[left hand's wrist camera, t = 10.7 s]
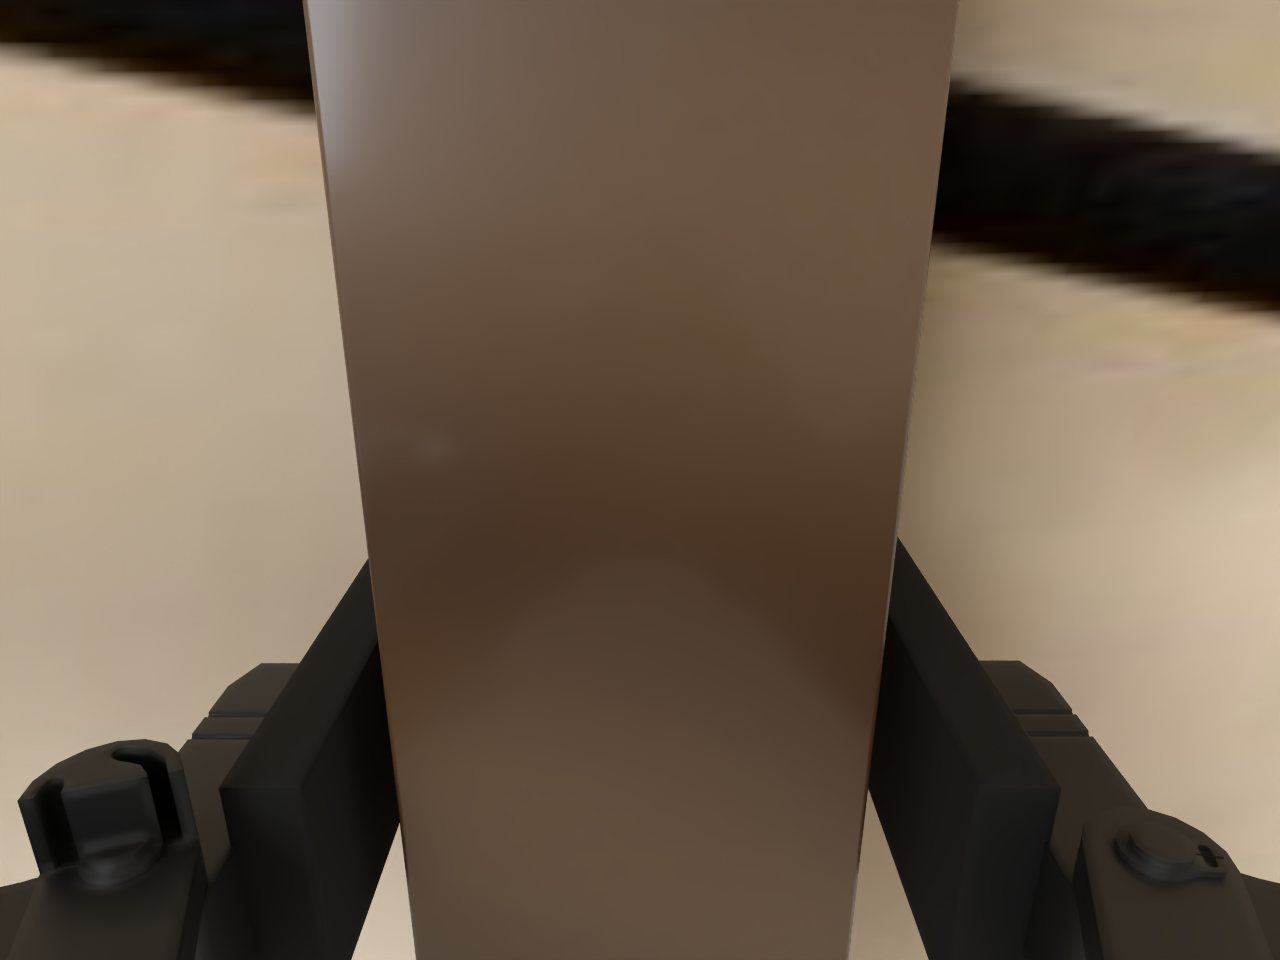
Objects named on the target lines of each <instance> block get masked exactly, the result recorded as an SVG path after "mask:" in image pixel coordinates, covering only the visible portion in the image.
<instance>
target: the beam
mask: <svg viewBox="0 0 1280 960" xmlns="http://www.w3.org/2000/svg"><path fill="white" fill-rule="evenodd" d="M958 5H959V0H303V9H304V17H305V26H306V34H307V42H308V51H309V59H310V68H311V76H312V85H313V93H314V102H315V110H316V118H317V127H318V135H319V144H320V152H321V161H322V169H323V178H324V186H325V194H326V203H327V211H328V220H329V228H330V237H331V245H332V254H333V262H334V270H335V279H336V287H337V296H338V304H339V313H340V321H341V330H342V338H343V346H344V355H345V363H346V372H347V380H348V389H349V397H350V406H351V414H352V422H353V431H354V439H355V448H356V456H357V465H358V473H359V482H360V490H361V498H362V507H363V515H364V524H365V532H366V541H367V549H368V558H369V566H370V574H371V583H372V591H373V600H374V608H375V617H376V625H377V634H378V642H379V650H380V659H381V667H382V676H383V684H384V693H385V701H386V710H387V718H388V726H389V735H390V743H391V752H392V760H393V769H394V777H395V786H396V794H397V802H398V811H399V819H400V828H401V836H402V845H403V853H404V862H405V870H406V878H407V887H408V895H409V904H410V912H411V921H412V929H413V938H414V946H415V954H416V960H848V958H849V949H850V940H851V932H852V923H853V914H854V906H855V897H856V888H857V880H858V871H859V862H860V854H861V845H862V836H863V828H864V819H865V810H866V802H867V793H868V785H869V776H870V767H871V759H872V750H873V741H874V733H875V724H876V715H877V707H878V698H879V689H880V681H881V672H882V663H883V655H884V646H885V637H886V629H887V620H888V611H889V603H890V594H891V585H892V577H893V568H894V559H895V551H896V542H897V533H898V525H899V516H900V507H901V499H902V490H903V481H904V473H905V464H906V456H907V447H908V438H909V430H910V421H911V412H912V404H913V395H914V386H915V378H916V369H917V360H918V352H919V343H920V334H921V326H922V317H923V308H924V300H925V291H926V282H927V274H928V265H929V256H930V248H931V239H932V230H933V222H934V213H935V204H936V196H937V187H938V178H939V170H940V161H941V152H942V144H943V135H944V127H945V118H946V109H947V101H948V92H949V83H950V75H951V66H952V57H953V49H954V40H955V31H956V23H957V14H958Z"/></svg>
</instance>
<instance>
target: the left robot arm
mask: <svg viewBox="0 0 1280 960" xmlns="http://www.w3.org/2000/svg"><path fill="white" fill-rule="evenodd" d="M868 789H869V792H870V794H871V797H872V800H873V803H874V806H875V808H876V811H877V814H878V817H879V820H880V823H881V825H882V828H883V831H884V834H885V837H886V840H887V842H888V845H889V848H890V851H891V854H892V857H893V859H894V862H895V865H896V868H897V871H898V874H899V876H900V879H901V882H902V885H903V888H904V891H905V893H906V896H907V899H908V902H909V905H910V908H911V910H912V913H913V916H914V919H915V922H916V925H917V927H918V930H919V933H920V936H921V939H922V942H923V944H924V947H925V950H926V953H927V956H928V959H929V960H1280V883H1276V882H1271V881H1267V880H1262V879H1258V878H1255V877H1252V876H1248V875H1245V874H1242V873H1240V872H1239V870H1238V869H1237V867H1236V866H1235V864H1234V863H1233V861H1232V860H1231V858H1230V857H1229V855H1228V853H1227V852H1226V851H1225V850H1224V849H1222V848H1221V847H1220V846H1219V845H1218V844H1216V843H1215V842H1214V841H1213V840H1212V839H1210V838H1209V837H1208V836H1207V835H1206V834H1205V833H1203V832H1201V831H1199V830H1198V829H1196V828H1194V827H1192V826H1190V825H1188V824H1186V823H1184V822H1182V821H1181V820H1179V819H1177V818H1175V817H1171V816H1168V815H1165V814H1162V813H1158V812H1155V811H1152V810H1149V809H1147V807H1146V806H1145V805H1144V803H1143V802H1142V801H1141V799H1140V798H1139V797H1138V795H1137V794H1136V793H1135V791H1134V790H1133V789H1132V788H1131V786H1130V785H1129V784H1128V782H1127V781H1126V780H1125V778H1124V777H1123V776H1122V774H1121V773H1120V772H1119V770H1118V769H1117V768H1116V767H1115V765H1114V764H1113V763H1112V761H1111V760H1110V759H1109V757H1108V756H1107V755H1106V753H1105V752H1104V751H1103V749H1102V748H1101V747H1100V746H1099V744H1098V743H1097V742H1096V740H1095V739H1094V738H1093V737H1089V734H1088V730H1087V728H1086V727H1085V726H1084V725H1083V723H1082V722H1081V721H1080V719H1079V718H1078V717H1077V715H1076V714H1072V709H1071V707H1070V706H1069V705H1068V703H1067V702H1066V701H1065V700H1064V698H1063V697H1062V696H1061V694H1060V693H1059V692H1058V690H1057V689H1056V688H1055V686H1054V685H1053V684H1052V683H1051V682H1050V681H1048V680H1047V679H1045V678H1044V677H1042V676H1041V675H1039V674H1038V673H1036V672H1035V671H1034V670H1032V669H1031V668H1029V667H1028V666H1026V665H1025V664H1023V663H1022V662H1020V661H978V659H977V658H976V656H975V655H974V653H973V651H972V650H971V648H970V647H969V645H968V644H967V642H966V641H965V639H964V638H963V636H962V635H961V633H960V632H959V630H958V628H957V627H956V625H955V624H954V622H953V621H952V619H951V618H950V616H949V615H948V613H947V612H946V610H945V609H944V607H943V606H942V604H941V602H940V601H939V599H938V598H937V596H936V595H935V593H934V592H933V590H932V589H931V587H930V586H929V584H928V583H927V581H926V579H925V578H924V576H923V575H922V573H921V572H920V570H919V569H918V567H917V566H916V564H915V563H914V561H913V560H912V558H911V556H910V555H909V553H908V552H907V550H906V549H905V547H904V546H903V544H902V543H901V541H900V540H899V538H898V537H897V542H896V551H895V559H894V568H893V577H892V585H891V594H890V603H889V611H888V620H887V629H886V637H885V646H884V655H883V663H882V672H881V681H880V689H879V698H878V707H877V715H876V724H875V733H874V741H873V750H872V759H871V767H870V776H869V785H868ZM18 804H19V807H20V811H21V814H22V817H23V820H24V824H25V827H26V830H27V833H28V836H29V840H30V843H31V846H32V849H33V853H34V856H35V859H36V862H37V865H38V869H39V872H40V875H39V877H38V878H34V879H31V880H28V881H24V882H21V883H16V884H12V885H8V886H3V887H0V960H351V959H352V956H353V953H354V950H355V947H356V944H357V942H358V939H359V936H360V933H361V930H362V927H363V925H364V922H365V919H366V916H367V913H368V910H369V908H370V905H371V902H372V899H373V896H374V893H375V891H376V888H377V885H378V882H379V879H380V876H381V874H382V871H383V868H384V865H385V862H386V860H387V857H388V854H389V851H390V848H391V845H392V843H393V840H394V837H395V834H396V831H397V828H398V826H399V823H400V819H399V811H398V802H397V794H396V786H395V777H394V769H393V760H392V752H391V743H390V735H389V726H388V718H387V710H386V701H385V693H384V684H383V676H382V667H381V659H380V650H379V642H378V634H377V625H376V617H375V608H374V600H373V591H372V583H371V574H370V566H369V558H368V560H367V561H366V563H365V564H364V566H363V567H362V569H361V570H360V572H359V573H358V575H357V576H356V578H355V579H354V581H353V583H352V584H351V586H350V587H349V589H348V590H347V592H346V593H345V595H344V596H343V598H342V599H341V601H340V602H339V604H338V606H337V607H336V609H335V610H334V612H333V613H332V615H331V616H330V618H329V619H328V621H327V622H326V624H325V625H324V627H323V629H322V630H321V632H320V633H319V635H318V636H317V638H316V639H315V641H314V642H313V644H312V645H311V647H310V648H309V650H308V652H307V653H306V655H305V656H304V658H303V659H302V661H301V662H300V663H261V664H260V665H258V666H257V667H255V668H254V669H252V670H251V671H250V672H248V673H247V674H245V675H244V676H242V677H241V678H239V679H238V680H236V681H235V682H234V683H232V684H231V685H229V686H228V687H227V689H226V690H225V691H224V693H223V694H222V695H221V697H220V698H219V699H218V701H217V702H216V703H215V705H214V706H213V707H212V708H211V710H210V711H209V716H208V717H205V718H204V719H203V720H202V722H201V723H200V724H199V726H198V727H197V728H196V730H195V731H194V732H193V734H192V739H191V740H187V742H186V743H185V744H184V746H183V747H182V748H181V749H180V751H179V752H177V751H176V750H174V749H173V748H172V747H171V746H170V745H168V744H166V743H162V742H157V741H152V740H147V739H141V740H128V741H116V742H113V743H109V744H105V745H102V746H98V747H94V748H91V749H87V750H85V751H83V752H80V753H78V754H76V755H74V756H72V757H70V758H68V759H66V760H63V761H61V762H59V763H57V764H56V765H54V766H53V767H51V768H50V769H49V770H47V771H46V772H45V773H43V774H42V775H41V776H39V777H38V778H37V779H35V780H34V781H32V783H31V784H30V785H29V787H28V788H27V789H26V791H25V792H24V793H23V795H22V796H21V797H20V798H19V800H18Z"/></svg>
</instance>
